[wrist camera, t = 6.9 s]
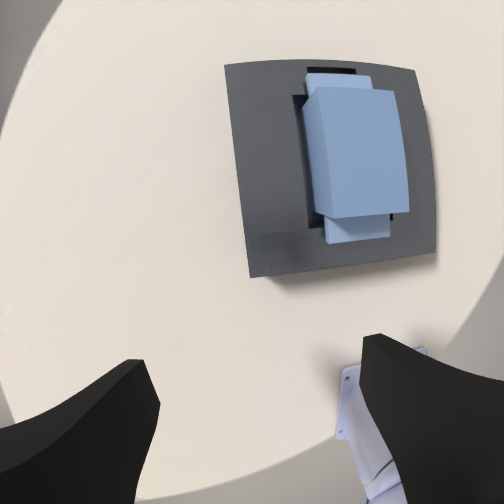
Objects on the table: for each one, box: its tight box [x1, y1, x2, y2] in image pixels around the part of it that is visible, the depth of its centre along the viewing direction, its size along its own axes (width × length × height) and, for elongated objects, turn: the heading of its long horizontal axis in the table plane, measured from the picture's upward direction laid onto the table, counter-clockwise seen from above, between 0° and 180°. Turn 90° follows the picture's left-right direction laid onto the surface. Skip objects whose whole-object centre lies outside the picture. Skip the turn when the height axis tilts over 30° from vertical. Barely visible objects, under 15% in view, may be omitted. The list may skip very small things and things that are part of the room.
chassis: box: [224, 59, 436, 278], centre depth 15 cm, size 12×12×2 cm
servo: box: [298, 73, 409, 244], centre depth 13 cm, size 9×4×5 cm, turn 7°
